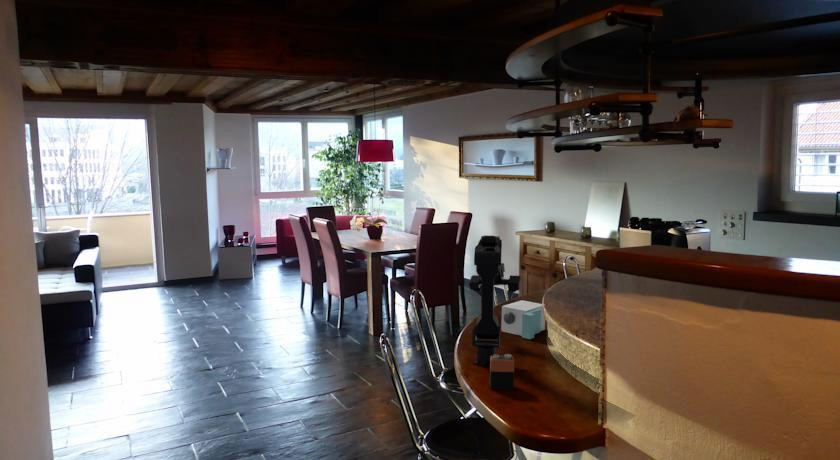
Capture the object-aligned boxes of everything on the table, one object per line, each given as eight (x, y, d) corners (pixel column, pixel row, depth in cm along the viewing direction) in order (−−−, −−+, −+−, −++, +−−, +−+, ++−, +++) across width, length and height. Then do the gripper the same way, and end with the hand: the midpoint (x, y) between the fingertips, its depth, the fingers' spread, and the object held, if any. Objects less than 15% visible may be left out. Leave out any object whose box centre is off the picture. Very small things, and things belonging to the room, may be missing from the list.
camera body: (523, 337, 231) (524, 311, 230) (499, 331, 238) (500, 306, 237) (545, 329, 242) (545, 304, 241) (521, 324, 249) (522, 300, 248)
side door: (529, 339, 227) (530, 315, 226) (521, 337, 229) (522, 313, 228) (545, 333, 235) (546, 310, 234) (537, 331, 237) (538, 308, 236)
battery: (513, 390, 178) (514, 357, 176) (490, 390, 178) (491, 357, 177) (512, 385, 182) (513, 352, 181) (489, 384, 182) (490, 352, 181)
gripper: (521, 253, 223) (526, 288, 231) (472, 254, 230) (478, 287, 238) (516, 271, 214) (521, 306, 222) (465, 271, 221) (472, 305, 229)
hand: (498, 300), depth 228 cm, fingers open, 9 cm apart
